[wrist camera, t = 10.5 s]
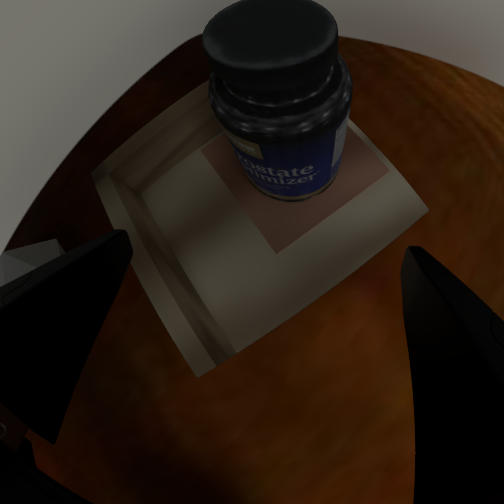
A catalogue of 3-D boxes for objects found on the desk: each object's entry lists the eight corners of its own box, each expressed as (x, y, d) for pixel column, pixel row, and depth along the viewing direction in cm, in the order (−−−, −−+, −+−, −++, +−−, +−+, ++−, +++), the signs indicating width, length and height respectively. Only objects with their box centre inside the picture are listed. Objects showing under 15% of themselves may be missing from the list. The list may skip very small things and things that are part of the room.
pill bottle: (234, 193, 19) (151, 83, 8) (259, 114, 20) (214, -14, 9) (330, 215, 18) (349, 100, 7) (348, 130, 18) (363, -7, 8)
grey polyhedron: (80, 229, 23) (-23, 237, 16) (109, 254, 17) (-40, 270, 10) (85, 317, 24) (-7, 331, 18) (117, 367, 19) (-6, 392, 12)
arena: (427, 211, 17) (454, 188, 13) (222, 361, 18) (197, 377, 14) (296, 74, 20) (290, 33, 16) (125, 194, 21) (90, 173, 17)
